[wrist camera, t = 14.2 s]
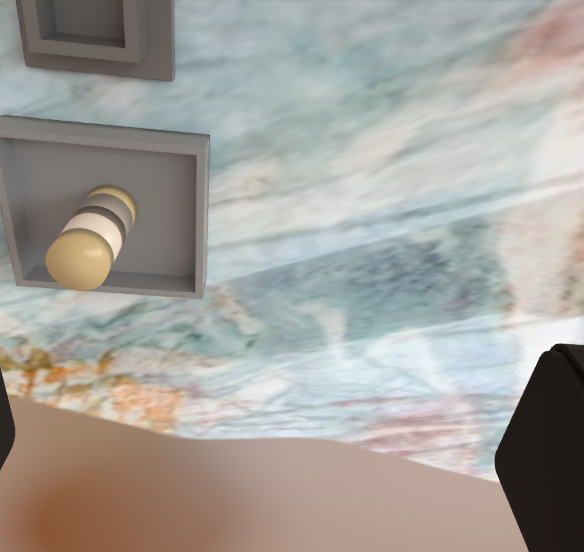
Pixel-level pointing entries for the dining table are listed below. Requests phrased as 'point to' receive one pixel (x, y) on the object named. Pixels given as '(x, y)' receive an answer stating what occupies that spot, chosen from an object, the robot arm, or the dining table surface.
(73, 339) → the dining table surface
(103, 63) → the fuse block
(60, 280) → the fuse
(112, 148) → the tray
